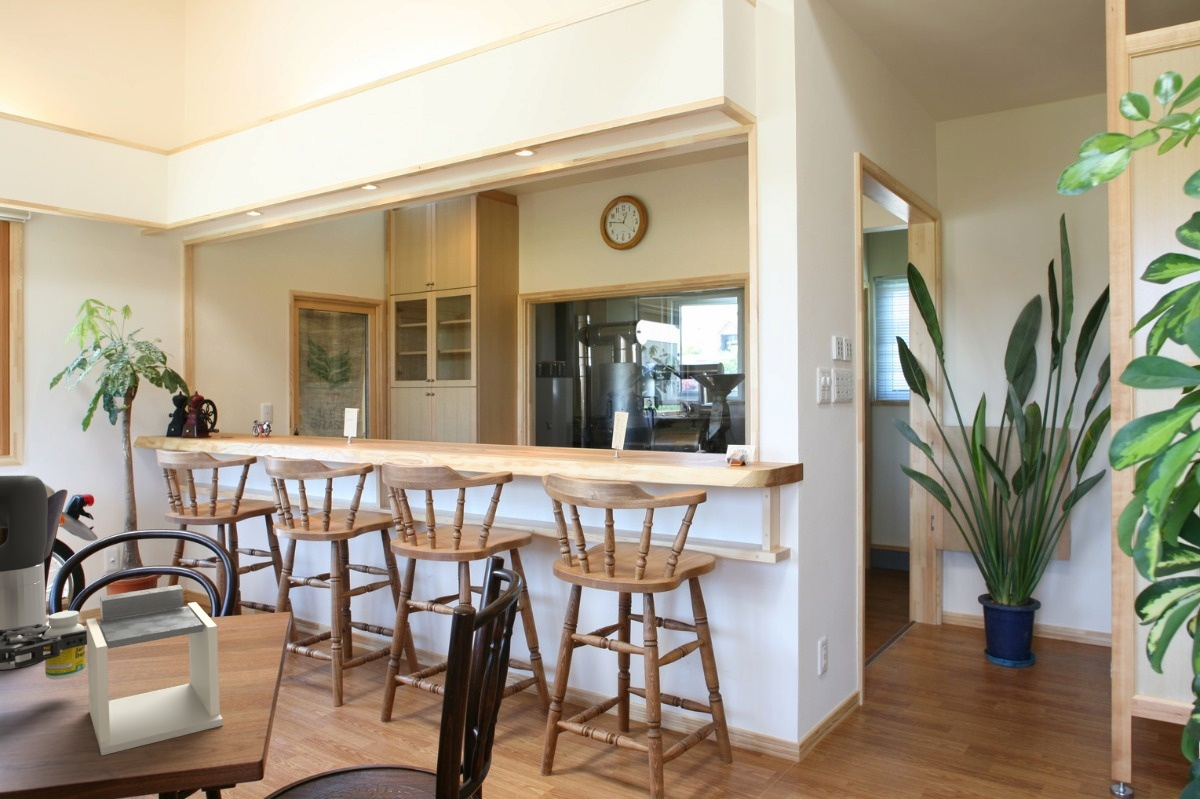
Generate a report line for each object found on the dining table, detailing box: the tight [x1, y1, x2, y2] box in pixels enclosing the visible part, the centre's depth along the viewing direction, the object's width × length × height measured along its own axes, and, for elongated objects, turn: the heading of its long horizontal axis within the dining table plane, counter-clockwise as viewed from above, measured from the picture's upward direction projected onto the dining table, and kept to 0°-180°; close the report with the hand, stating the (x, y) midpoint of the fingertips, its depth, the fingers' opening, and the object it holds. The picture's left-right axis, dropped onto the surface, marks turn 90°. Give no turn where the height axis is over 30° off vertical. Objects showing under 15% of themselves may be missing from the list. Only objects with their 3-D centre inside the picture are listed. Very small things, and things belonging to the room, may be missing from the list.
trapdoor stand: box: [85, 601, 224, 756], centre depth 120 cm, size 18×15×14 cm
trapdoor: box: [98, 584, 203, 650], centre depth 122 cm, size 16×12×4 cm
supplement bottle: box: [44, 610, 87, 680], centre depth 129 cm, size 5×5×10 cm
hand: (82, 632), depth 131 cm, fingers closed on supplement bottle, 5 cm apart
